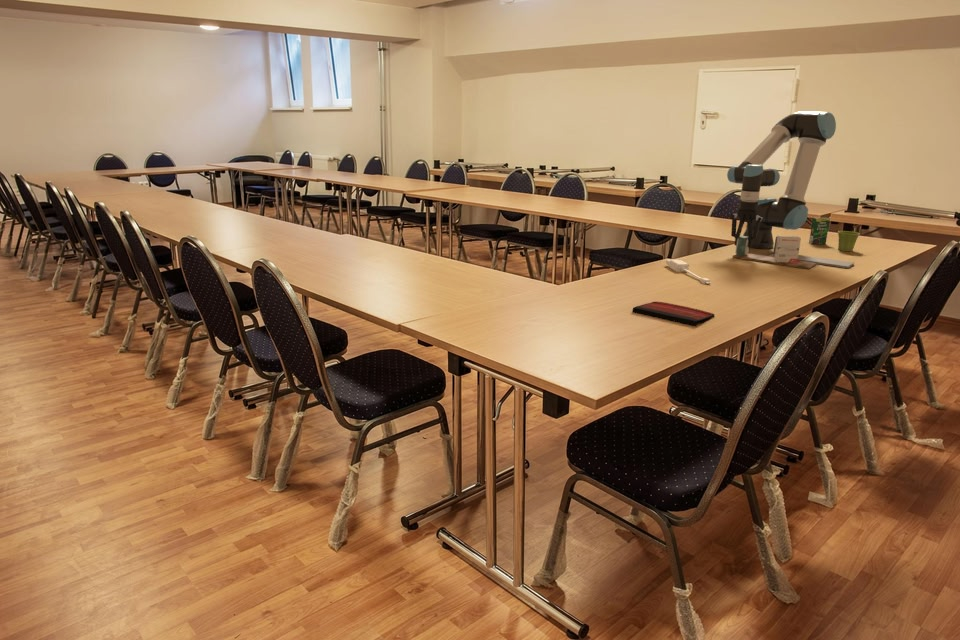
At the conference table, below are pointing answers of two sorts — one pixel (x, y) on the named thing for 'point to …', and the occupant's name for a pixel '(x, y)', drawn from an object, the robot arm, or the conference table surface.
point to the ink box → (787, 249)
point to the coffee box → (819, 230)
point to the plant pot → (847, 240)
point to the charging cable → (684, 269)
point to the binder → (673, 313)
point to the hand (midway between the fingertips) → (741, 253)
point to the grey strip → (820, 260)
